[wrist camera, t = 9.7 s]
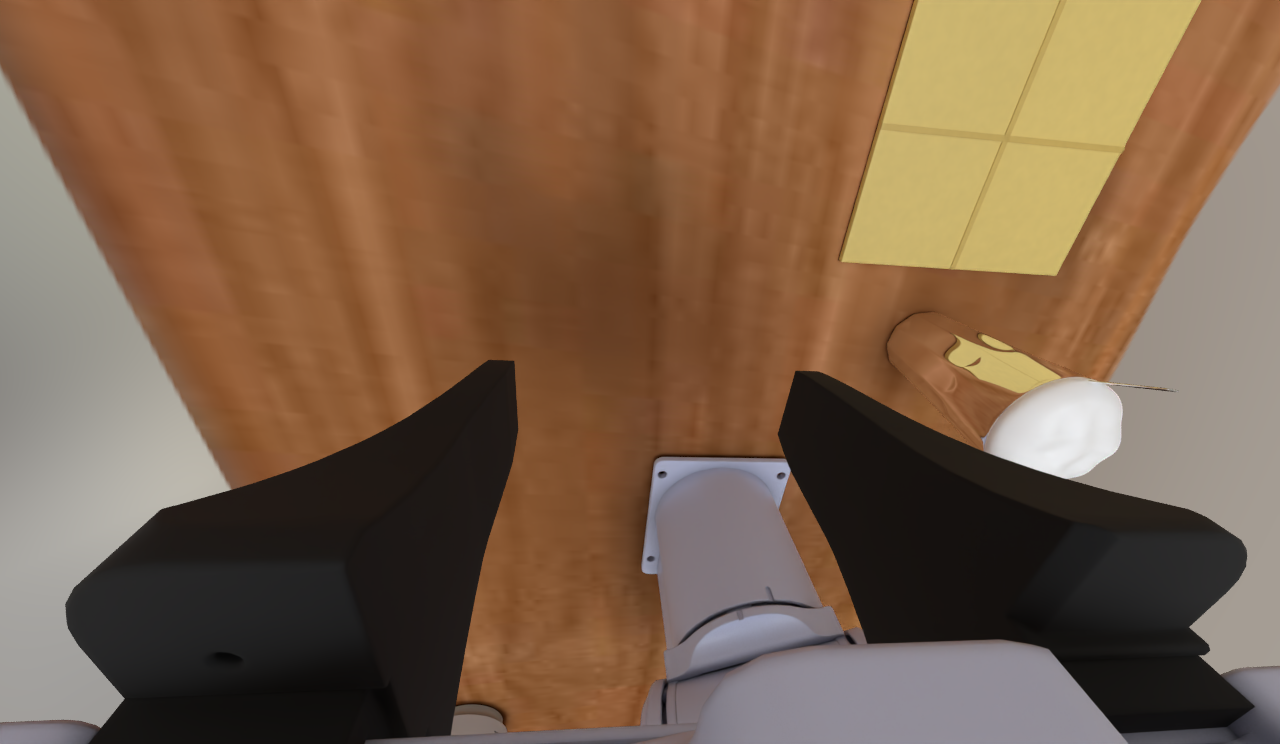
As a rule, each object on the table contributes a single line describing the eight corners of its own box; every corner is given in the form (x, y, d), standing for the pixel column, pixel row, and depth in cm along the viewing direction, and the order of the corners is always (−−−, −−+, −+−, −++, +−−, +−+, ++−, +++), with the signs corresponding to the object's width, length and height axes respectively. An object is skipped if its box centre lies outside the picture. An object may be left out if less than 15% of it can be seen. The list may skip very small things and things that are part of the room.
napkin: (1050, 274, 22) (1056, 275, 22) (838, 260, 21) (841, 262, 21) (1200, -13, 17) (1211, -15, 17) (929, -52, 16) (935, -56, 16)
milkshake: (987, 292, 23) (1232, 401, 14) (931, 384, 25) (1110, 526, 16) (908, 274, 22) (1114, 377, 13) (858, 371, 24) (1004, 513, 16)
